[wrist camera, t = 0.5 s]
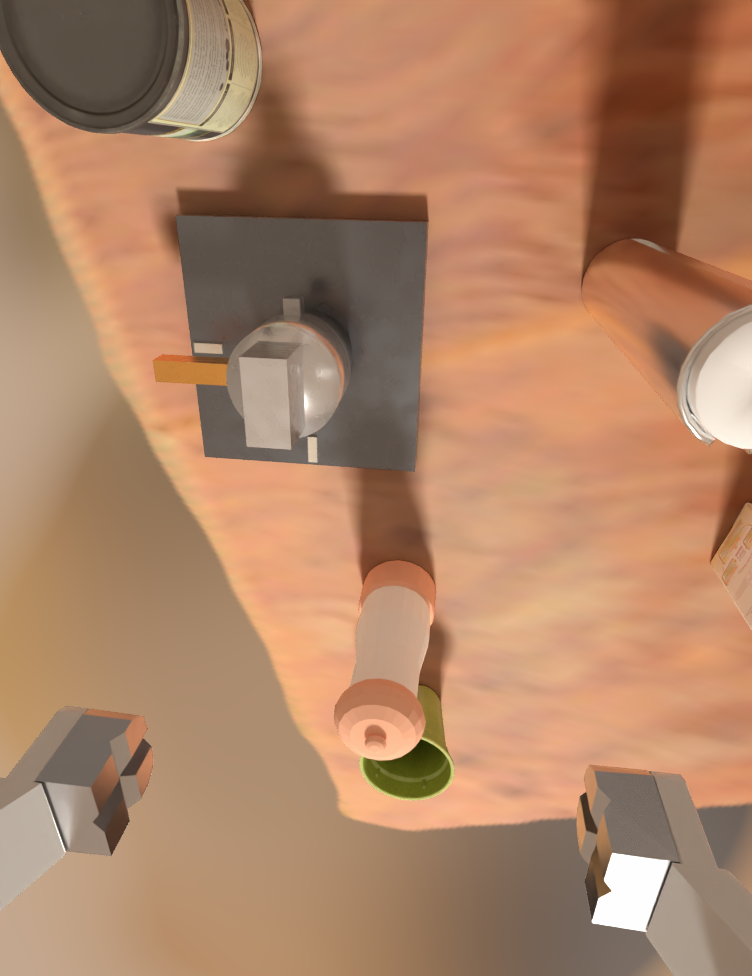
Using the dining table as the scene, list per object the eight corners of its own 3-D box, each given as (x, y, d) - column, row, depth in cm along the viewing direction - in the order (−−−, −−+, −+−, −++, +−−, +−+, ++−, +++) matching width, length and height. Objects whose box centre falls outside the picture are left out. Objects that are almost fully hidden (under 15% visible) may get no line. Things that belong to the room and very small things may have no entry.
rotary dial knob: (350, 297, 44) (326, 324, 36) (350, 433, 49) (329, 482, 41) (162, 289, 45) (101, 314, 38) (181, 422, 50) (129, 467, 43)
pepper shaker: (423, 627, 63) (408, 793, 47) (355, 607, 63) (316, 766, 46) (445, 572, 60) (437, 730, 43) (373, 551, 60) (337, 700, 43)
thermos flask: (562, 290, 47) (648, 397, 25) (630, 218, 44) (795, 266, 22) (622, 345, 48) (753, 494, 26) (692, 278, 45) (905, 382, 23)
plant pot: (353, 694, 69) (339, 759, 61) (417, 656, 65) (411, 721, 58) (408, 743, 71) (401, 812, 64) (473, 709, 68) (474, 778, 60)
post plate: (183, 214, 48) (155, 218, 44) (428, 220, 46) (424, 226, 41) (211, 450, 57) (189, 473, 53) (415, 464, 55) (411, 490, 51)
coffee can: (171, 168, 47) (64, 167, 34) (93, 14, 43) (-59, -50, 30) (290, 102, 44) (220, 75, 31) (218, -70, 40) (105, -179, 27)
